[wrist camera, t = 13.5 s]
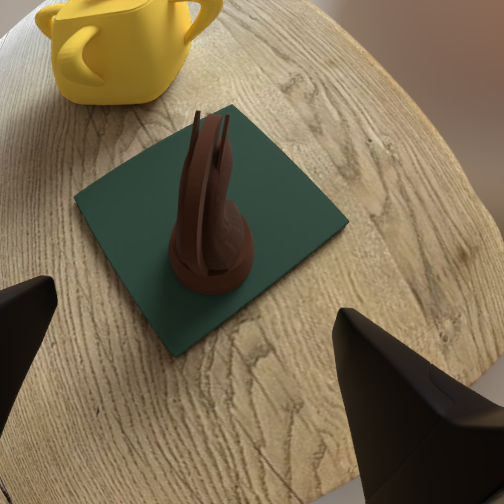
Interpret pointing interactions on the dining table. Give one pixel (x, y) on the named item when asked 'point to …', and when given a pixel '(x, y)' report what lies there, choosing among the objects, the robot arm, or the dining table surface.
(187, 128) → the play mat
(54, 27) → the teapot
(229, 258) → the chess piece
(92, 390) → the dining table surface
